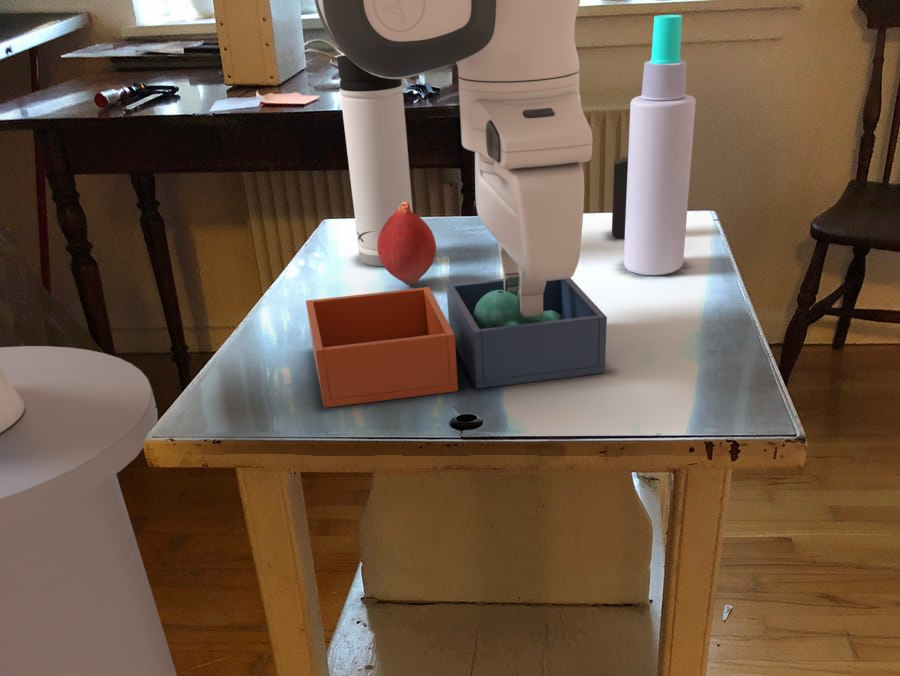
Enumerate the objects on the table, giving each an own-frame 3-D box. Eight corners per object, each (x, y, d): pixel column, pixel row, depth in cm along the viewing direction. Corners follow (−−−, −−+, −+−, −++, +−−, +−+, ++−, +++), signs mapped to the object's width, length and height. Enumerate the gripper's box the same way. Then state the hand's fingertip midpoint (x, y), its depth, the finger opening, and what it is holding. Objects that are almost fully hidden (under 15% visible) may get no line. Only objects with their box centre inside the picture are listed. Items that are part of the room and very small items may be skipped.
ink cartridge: (655, 232, 111) (660, 155, 106) (656, 237, 109) (661, 160, 104) (611, 233, 112) (614, 156, 107) (611, 238, 110) (614, 161, 105)
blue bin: (476, 389, 78) (473, 332, 75) (449, 336, 87) (446, 284, 85) (605, 372, 79) (607, 316, 76) (564, 323, 89) (565, 271, 86)
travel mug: (355, 269, 105) (330, 54, 93) (363, 251, 110) (340, 45, 98) (413, 266, 105) (395, 50, 92) (418, 249, 110) (402, 42, 98)
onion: (376, 294, 98) (366, 209, 93) (388, 276, 102) (380, 195, 97) (432, 294, 97) (426, 209, 92) (442, 276, 102) (437, 194, 97)
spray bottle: (627, 278, 98) (639, 21, 85) (620, 260, 103) (629, 15, 90) (687, 275, 98) (708, 17, 85) (677, 257, 103) (695, 11, 90)
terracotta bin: (324, 408, 76) (315, 350, 73) (313, 352, 86) (305, 300, 83) (458, 391, 78) (454, 334, 75) (433, 338, 87) (429, 286, 84)
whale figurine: (478, 324, 85) (476, 280, 82) (563, 325, 84) (563, 279, 81) (470, 349, 80) (468, 302, 78) (559, 349, 79) (559, 302, 77)
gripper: (452, 100, 80) (462, 272, 88) (508, 147, 64) (513, 351, 72) (527, 93, 81) (529, 264, 89) (600, 138, 65) (595, 341, 73)
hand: (523, 304), depth 81 cm, fingers closed on whale figurine, 3 cm apart
